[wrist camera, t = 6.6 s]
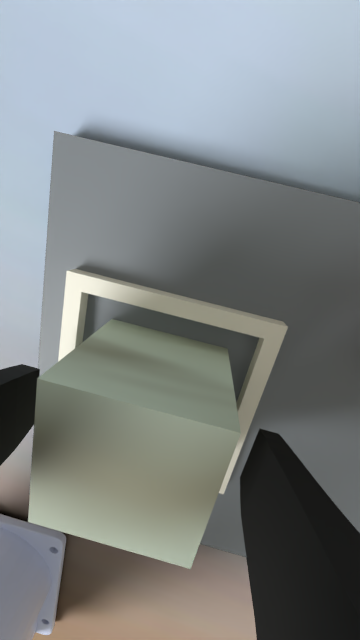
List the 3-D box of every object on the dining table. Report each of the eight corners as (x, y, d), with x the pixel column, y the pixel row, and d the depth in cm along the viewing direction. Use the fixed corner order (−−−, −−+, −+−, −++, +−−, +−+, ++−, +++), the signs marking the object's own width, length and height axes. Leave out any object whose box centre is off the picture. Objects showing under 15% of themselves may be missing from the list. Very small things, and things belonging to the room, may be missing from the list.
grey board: (414, 588, 13) (437, 627, 12) (39, 480, 14) (21, 506, 13) (667, 281, 8) (754, 289, 7) (67, 140, 9) (42, 122, 8)
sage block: (198, 442, 11) (190, 569, 7) (96, 415, 11) (27, 521, 7) (227, 348, 10) (241, 433, 5) (111, 318, 10) (37, 378, 6)
